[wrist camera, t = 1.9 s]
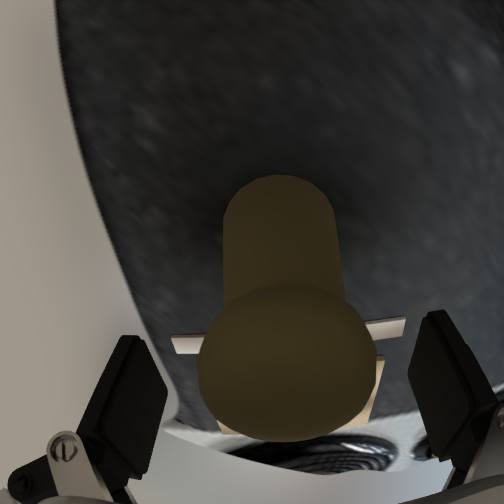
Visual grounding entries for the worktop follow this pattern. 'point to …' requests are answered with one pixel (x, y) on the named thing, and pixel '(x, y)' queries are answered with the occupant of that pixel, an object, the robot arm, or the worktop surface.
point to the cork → (284, 320)
